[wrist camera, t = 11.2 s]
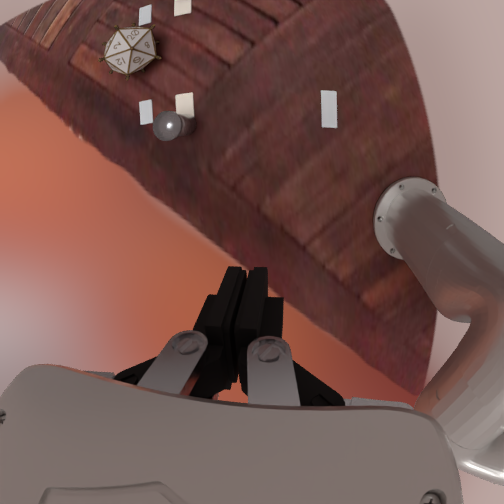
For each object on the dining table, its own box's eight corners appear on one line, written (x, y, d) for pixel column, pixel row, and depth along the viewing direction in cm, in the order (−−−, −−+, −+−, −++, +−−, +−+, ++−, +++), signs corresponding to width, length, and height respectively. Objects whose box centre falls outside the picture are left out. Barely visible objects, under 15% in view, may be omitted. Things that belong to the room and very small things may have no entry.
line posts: (195, -20, 24) (180, -38, 18) (199, 135, 35) (181, 139, 29) (172, -14, 24) (153, -31, 19) (174, 138, 35) (154, 142, 30)
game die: (150, 50, 33) (125, 6, 23) (184, 58, 31) (161, 5, 21) (108, 87, 32) (75, 45, 22) (138, 100, 30) (101, 50, 20)
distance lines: (326, -14, 23) (326, -14, 23) (336, 127, 32) (337, 127, 32) (140, 8, 26) (139, 8, 26) (142, 137, 36) (141, 137, 36)
